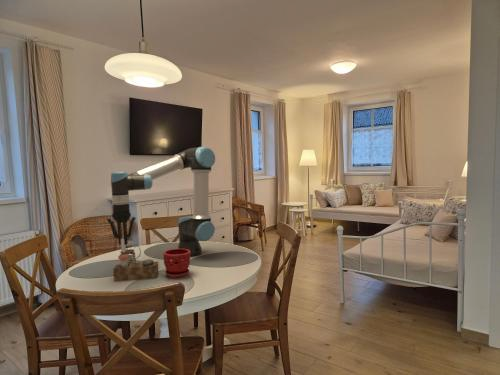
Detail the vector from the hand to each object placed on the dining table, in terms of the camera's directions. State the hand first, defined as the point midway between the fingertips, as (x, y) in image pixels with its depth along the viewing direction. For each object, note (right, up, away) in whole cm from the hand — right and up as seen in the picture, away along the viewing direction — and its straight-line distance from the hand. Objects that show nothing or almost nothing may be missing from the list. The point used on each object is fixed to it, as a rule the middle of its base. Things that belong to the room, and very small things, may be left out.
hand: (123, 251), depth 156 cm
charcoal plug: (+11, -12, +3) cm, 17 cm away
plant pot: (+26, -13, +4) cm, 29 cm away
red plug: (0, -9, +1) cm, 9 cm away
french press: (-3, -13, +15) cm, 20 cm away
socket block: (+6, -13, +2) cm, 14 cm away
